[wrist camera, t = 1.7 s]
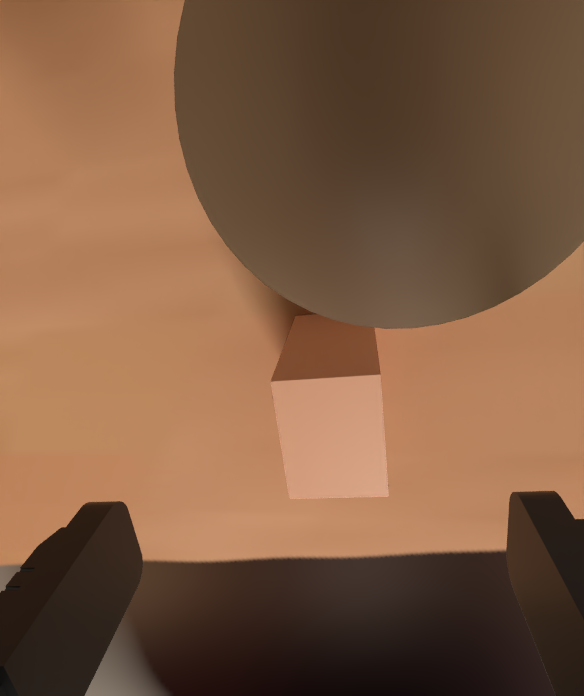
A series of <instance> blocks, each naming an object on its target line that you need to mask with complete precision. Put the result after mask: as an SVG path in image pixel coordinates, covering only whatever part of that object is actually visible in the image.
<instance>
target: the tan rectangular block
mask: <svg viewBox="0 0 584 696" xmlns="http://www.w3.org/2000/svg"><path fill="white" fill-rule="evenodd" d="M271 388H272V394H273V400H274V406H275V413H276V419H277V425H278V431H279V438H280V444H281V450H282V456H283V463H284V469H285V475H286V481H287V488H288V494H289V499H307V498H351V497H389V495H388V479H387V464H386V449H385V434H384V419H383V404H382V388H381V374H380V366H379V359H378V351H377V344H376V336H375V329H374V327H364V326H357V325H353V324H349V323H344V322H340V321H336V320H332V319H330V318H327V317H324V316H321V315H319V314H312V315H301V316H295V318H294V321H293V324H292V326H291V329H290V332H289V334H288V337H287V340H286V342H285V345H284V347H283V350H282V353H281V355H280V358H279V361H278V363H277V366H276V369H275V371H274V374H273V377H272V379H271Z"/></svg>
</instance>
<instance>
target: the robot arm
mask: <svg viewBox="0 0 584 696" xmlns="http://www.w3.org/2000/svg"><path fill="white" fill-rule="evenodd" d="M506 555H507V565H508V571H509V576H510V580H511V583H512V586H513V589H514V592H515V594H516V597H517V599H518V602H519V604H520V607H521V609H522V612H523V614H524V617H525V619H526V622H527V624H528V627H529V629H530V632H531V634H532V637H533V640H534V642H535V645H536V647H537V650H538V652H539V655H540V657H541V659H542V662H543V664H544V667H545V670H546V672H547V675H548V677H549V680H550V682H551V685H552V687H553V690H554V692H555V695H556V696H584V519H575V518H574V517H573V515H572V514H571V512H570V511H569V509H568V508H567V506H566V505H565V503H564V502H563V500H562V498H561V497H560V496H559V494H558V493H556V492H555V491H536V492H513V493H512V494H511V496H510V502H509V518H508V535H507V552H506ZM142 565H143V560H142V554H141V550H140V547H139V544H138V540H137V537H136V534H135V531H134V527H133V524H132V521H131V518H130V514H129V511H128V508H127V506H126V505H125V504H124V503H123V502H120V501H117V502H88V503H86V504H84V505H83V506H82V507H81V508H80V510H79V511H78V512H77V514H76V515H75V516H74V518H73V519H72V520H71V521H70V523H69V524H68V525H67V527H63V528H60V529H59V530H58V531H56V532H55V533H54V534H53V535H51V536H50V537H49V538H47V539H46V540H45V541H44V542H42V543H41V544H40V545H39V546H37V548H36V549H35V550H34V551H33V553H32V554H31V555H30V556H29V558H28V559H27V560H26V561H25V563H24V564H23V565H22V566H21V570H20V572H17V573H16V574H15V575H14V576H13V578H12V579H11V580H10V581H9V583H8V584H7V585H6V589H5V591H1V593H0V696H84V695H85V693H86V691H87V689H88V687H89V685H90V683H91V681H92V679H93V677H94V675H95V673H96V671H97V669H98V667H99V665H100V663H101V661H102V658H103V657H104V654H105V653H106V651H107V648H108V646H109V644H110V642H111V640H112V638H113V636H114V634H115V632H116V630H117V628H118V626H119V624H120V622H121V620H122V618H123V616H124V614H125V612H126V610H127V608H128V606H129V604H130V602H131V599H132V597H133V595H134V593H135V591H136V589H137V587H138V585H139V582H140V579H141V574H142V567H143V566H142Z"/></svg>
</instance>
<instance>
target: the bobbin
mask: <svg viewBox="0 0 584 696" xmlns="http://www.w3.org/2000/svg"><path fill="white" fill-rule="evenodd" d="M174 87H175V111H176V118H177V125H178V132H179V139H180V143H181V147H182V151H183V155H184V159H185V163H186V167H187V170H188V173H189V175H190V178H191V181H192V183H193V186H194V189H195V191H196V194H197V196H198V199H199V201H200V202H201V204H202V206H203V208H204V210H205V212H206V214H207V216H208V218H209V220H210V222H211V223H212V225H213V226H214V228H215V229H216V231H217V232H218V234H219V235H220V237H221V238H222V239H223V241H224V242H225V244H226V245H227V247H228V248H229V249H230V250H231V251H232V252H233V253H234V255H235V256H236V257H237V258H238V259H239V260H240V261H241V263H242V264H243V265H244V266H245V267H246V268H247V269H248V270H249V271H251V272H252V273H253V274H254V275H255V276H256V277H257V278H258V279H260V280H261V281H262V282H263V283H264V284H265V285H267V286H268V287H270V288H271V289H272V290H274V291H275V292H277V293H278V294H280V295H281V296H283V297H284V298H286V299H287V300H289V301H291V302H293V303H295V304H297V305H299V306H301V307H303V308H305V309H306V310H308V311H310V312H313V313H316V314H319V315H321V316H324V317H327V318H330V319H332V320H336V321H340V322H344V323H349V324H353V325H357V326H364V327H374V328H384V329H397V328H418V327H425V326H432V325H439V324H443V323H447V322H451V321H455V320H458V319H462V318H466V317H469V316H471V315H474V314H477V313H479V312H482V311H484V310H487V309H489V308H492V307H494V306H496V305H498V304H500V303H502V302H504V301H506V300H508V299H510V298H512V297H513V296H515V295H517V294H519V293H521V292H522V291H524V290H525V289H527V288H528V287H530V286H531V285H533V284H534V283H536V282H537V281H539V280H540V279H542V278H543V277H545V276H546V275H547V274H549V273H550V272H551V271H552V270H553V269H554V268H556V267H557V266H558V265H559V264H560V263H561V262H563V261H564V260H565V259H566V258H567V257H569V256H570V255H571V254H572V253H573V252H574V251H575V250H576V249H577V248H578V247H579V246H580V244H581V243H582V242H583V241H584V0H185V2H184V6H183V11H182V16H181V21H180V26H179V31H178V36H177V46H176V57H175V69H174Z"/></svg>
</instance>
